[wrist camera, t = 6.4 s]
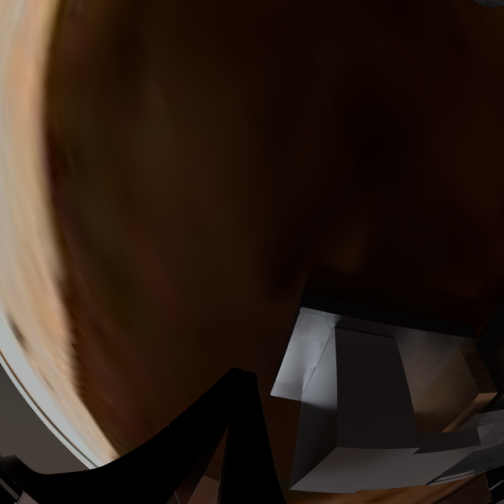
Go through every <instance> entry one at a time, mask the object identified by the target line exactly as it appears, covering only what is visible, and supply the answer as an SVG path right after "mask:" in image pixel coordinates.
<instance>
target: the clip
mask: <svg viewBox="0 0 504 504" xmlns="http://www.w3.org/2000/svg"><path fill="white" fill-rule="evenodd" d="M480 445H481V441H480V438H479V434H478V431H477V428H475V429H468V430H460V431H451V432H440V433H424V434H418V429H417V424H416V418H415V414H414V409H413V404H412V400H411V395H410V391H409V387H408V383H407V379H406V375H405V371H404V367H403V363H402V360H401V356H400V353H399V349H398V346H397V342H396V339H395V338H389V337H383V336H377V335H372V334H366V333H361V332H355V331H350V330H345V329H340V328H335V327H334V329H333V332H332V334H331V336H330V339H329V341H328V343H327V345H326V347H325V350H324V352H323V354H322V356H321V358H320V360H319V362H318V364H317V367H316V369H315V371H314V373H313V375H312V377H311V379H310V381H309V383H308V385H307V387H306V389H305V390H304V392H303V394H302V401H301V410H300V419H299V427H298V435H297V442H296V450H295V457H294V463H293V470H292V476H291V482H290V488H289V489H292V490H302V491H313V492H331V493H354V492H356V491H358V490H373V489H388V488H399V487H408V486H415V485H422V484H426V483H428V482H429V481H431V480H433V479H434V478H436V477H437V476H439V475H440V474H442V473H443V472H445V471H446V470H448V469H449V468H451V467H452V466H454V465H455V464H457V463H458V462H459V461H461V460H462V459H463V458H465V457H466V456H467V455H469V454H470V453H471V452H473V451H474V450H475V449H476V448H478V447H479V446H480Z"/></svg>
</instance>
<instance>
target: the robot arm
mask: <svg viewBox="0 0 504 504" xmlns="http://www.w3.org/2000/svg"><path fill="white" fill-rule="evenodd" d="M229 422H230V423H229ZM228 424H229V427H228ZM168 426H169V427H168ZM168 426H166V427H165V428H164V429H163V430H161V431H160V432H159V433H158V434H156V435H155V436H154V437H152V438H151V439H150V440H148V441H147V442H145V443H144V444H142V445H140V446H139V447H137V448H136V449H134V450H132V451H130V452H128V453H127V454H125V455H123V456H121V457H119V458H118V459H116V460H114V461H112V462H110V463H108V464H106V465H104V466H101V467H98V468H94V469H90V470H83V471H75V472H66V473H54V474H42V473H38V472H37V471H36V470H34V469H33V468H32V467H30V466H29V465H28V464H27V463H25V462H24V461H23V460H22V459H21V458H19V457H18V456H16V455H9V456H5V457H2V456H1V454H0V504H188V502H189V501H190V499H191V497H192V495H193V493H194V491H195V490H196V488H197V486H198V483H199V482H200V480H201V478H202V477H203V475H204V473H205V471H206V469H207V467H208V465H209V463H210V461H211V459H212V457H213V455H214V453H215V451H216V449H217V447H218V445H219V443H220V441H221V439H222V437H223V435H224V433H225V431H226V429H227V427H228V433H227V439H226V445H225V451H224V457H223V463H222V469H221V475H220V481H219V487H218V493H217V499H216V504H287V503H286V501H285V498H284V496H283V493H282V491H281V488H280V485H279V482H278V479H277V475H276V471H275V467H274V462H273V458H272V456H271V455H272V453H271V448H270V443H269V438H268V433H267V428H266V423H265V418H264V413H263V408H262V402H261V397H260V392H259V387H258V381H257V376H256V374H255V373H253V372H249V371H243V370H241V369H238V368H231V369H230V370H229V371H228V372H227V373H226V374H225V375H224V376H223V377H222V378H221V379H219V380H218V381H217V382H216V383H215V384H214V385H213V386H212V387H211V388H210V389H209V390H208V391H206V392H205V393H204V394H203V395H202V396H201V397H200V398H199V399H198V400H196V401H195V402H194V403H193V404H192V405H191V406H190V407H188V408H187V409H186V410H185V411H184V412H183V413H182V414H180V415H179V416H178V417H177V418H176V419H175V420H173V421H172V422H171V423H170V424H169V425H168ZM486 477H487V483H488V489H489V490H490V494H491V501H492V500H494V501H492V502H490V503H488V504H499V503H501V502H502V501H504V465H502V466H500V467H497V468H494V469H492V470H489V471H486Z"/></svg>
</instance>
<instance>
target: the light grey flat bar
mask: <svg viewBox="0 0 504 504" xmlns="http://www.w3.org/2000/svg"><path fill="white" fill-rule="evenodd" d="M475 428H477V431H478V434H479V438H480V441H481V445H480V446H479V447H478V448H476V449H475V450H474V451H478V450H481V449H485V448H489V447H492V446H495V445H499V444H502V443H504V410H498V411H493V412H486V413H479V414H475V415H474V416H473V417H472V418H471V419H470V420H469V421H468V422H467V423H466V424H465V425H464V426H463V427H461V428H460V429H459V430H458V431H460V430H468V429H475ZM474 451H473V452H474Z"/></svg>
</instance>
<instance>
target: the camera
mask: <svg viewBox="0 0 504 504" xmlns="http://www.w3.org/2000/svg"><path fill="white" fill-rule="evenodd" d="M473 1H475V2H477V3H478V4H480V5H483V6H486V7H498V6H502V5H504V0H473Z"/></svg>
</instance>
